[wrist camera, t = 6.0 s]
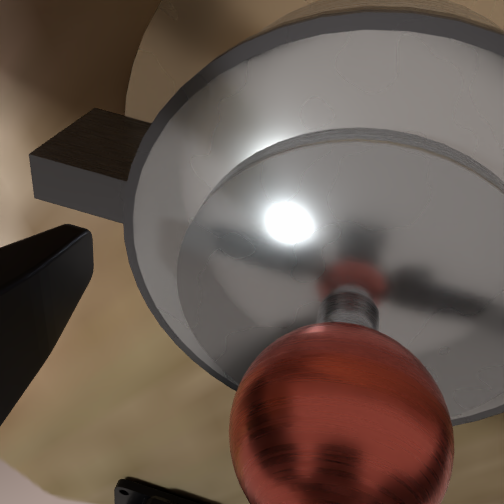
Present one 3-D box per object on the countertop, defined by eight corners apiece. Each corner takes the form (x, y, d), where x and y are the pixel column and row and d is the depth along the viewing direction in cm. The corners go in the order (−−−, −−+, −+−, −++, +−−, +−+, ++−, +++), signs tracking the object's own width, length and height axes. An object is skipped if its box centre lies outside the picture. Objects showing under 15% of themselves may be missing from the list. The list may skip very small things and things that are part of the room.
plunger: (446, 434, 10) (475, 696, 7) (176, 351, 10) (77, 559, 7) (639, 193, 6) (913, 511, 3) (208, 80, 7) (35, 250, 3)
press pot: (487, 396, 15) (513, 525, 12) (113, 285, 16) (48, 377, 13) (850, -45, 8) (1168, -8, 4) (110, -207, 8) (-49, -266, 5)
